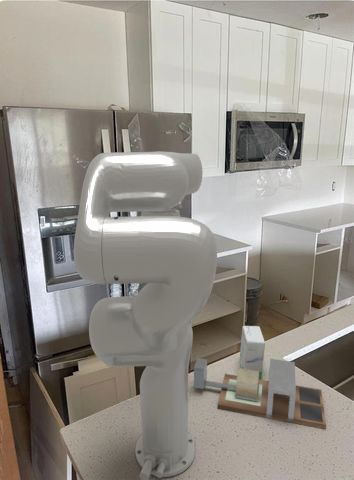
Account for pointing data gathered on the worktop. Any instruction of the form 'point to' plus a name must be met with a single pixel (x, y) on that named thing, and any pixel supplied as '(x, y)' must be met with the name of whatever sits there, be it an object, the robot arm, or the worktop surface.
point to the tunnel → (282, 384)
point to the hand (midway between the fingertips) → (161, 272)
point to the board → (277, 404)
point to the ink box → (252, 349)
